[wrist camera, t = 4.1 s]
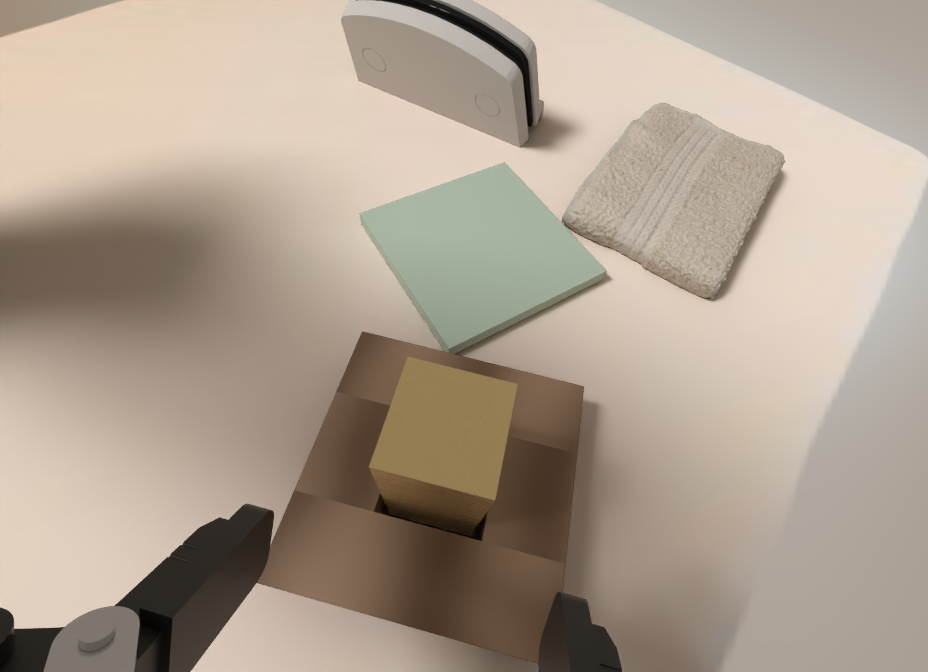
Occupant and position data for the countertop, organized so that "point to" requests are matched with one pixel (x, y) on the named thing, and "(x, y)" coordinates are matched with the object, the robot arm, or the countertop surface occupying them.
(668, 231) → the washcloth
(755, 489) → the countertop surface
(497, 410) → the peg
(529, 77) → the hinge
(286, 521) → the socket base
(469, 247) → the mat
